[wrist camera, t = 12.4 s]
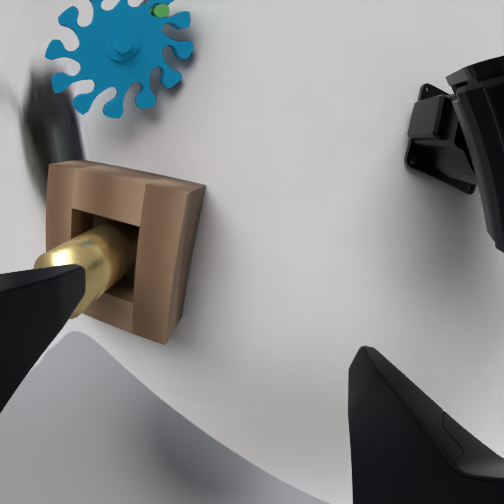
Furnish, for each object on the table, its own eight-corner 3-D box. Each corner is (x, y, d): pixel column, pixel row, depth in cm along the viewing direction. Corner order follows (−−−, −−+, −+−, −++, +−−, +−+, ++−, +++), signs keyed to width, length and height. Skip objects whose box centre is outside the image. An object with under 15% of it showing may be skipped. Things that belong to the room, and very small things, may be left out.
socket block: (205, 185, 20) (187, 193, 17) (181, 317, 24) (165, 344, 20) (81, 159, 21) (49, 164, 17) (75, 279, 24) (49, 297, 21)
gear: (138, 145, 18) (14, 83, 11) (122, 127, 22) (25, 78, 14) (234, 21, 16) (130, -60, 8) (199, 26, 20) (113, -35, 12)
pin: (147, 224, 21) (82, 265, 13) (142, 274, 22) (85, 328, 14) (102, 212, 21) (31, 244, 13) (100, 260, 22) (36, 305, 15)
